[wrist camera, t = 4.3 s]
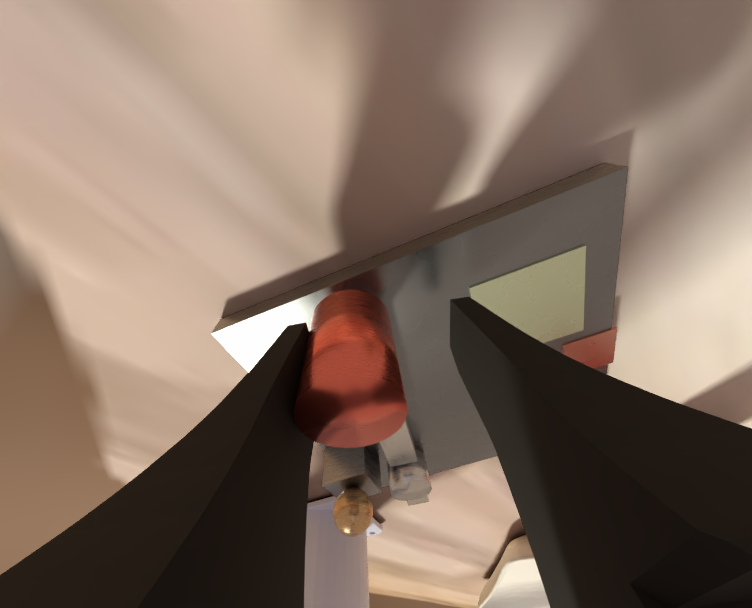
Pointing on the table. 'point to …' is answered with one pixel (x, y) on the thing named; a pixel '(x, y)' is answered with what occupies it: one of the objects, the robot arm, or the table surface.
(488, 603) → the salad plate
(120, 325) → the table surface
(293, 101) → the table surface
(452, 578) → the table surface
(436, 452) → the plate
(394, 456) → the lever
